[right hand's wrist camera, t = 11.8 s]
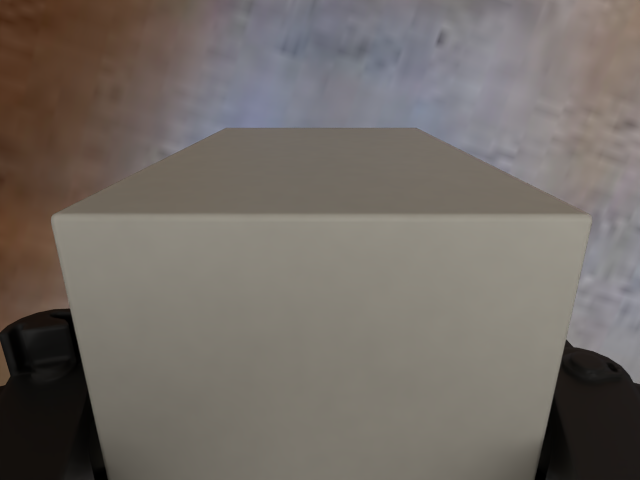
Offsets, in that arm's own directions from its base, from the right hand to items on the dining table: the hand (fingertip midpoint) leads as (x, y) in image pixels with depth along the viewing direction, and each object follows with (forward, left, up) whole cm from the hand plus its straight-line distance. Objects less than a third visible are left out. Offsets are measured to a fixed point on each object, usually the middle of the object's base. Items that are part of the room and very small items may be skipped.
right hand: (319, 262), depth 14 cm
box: (+10, 0, -1) cm, 10 cm away
